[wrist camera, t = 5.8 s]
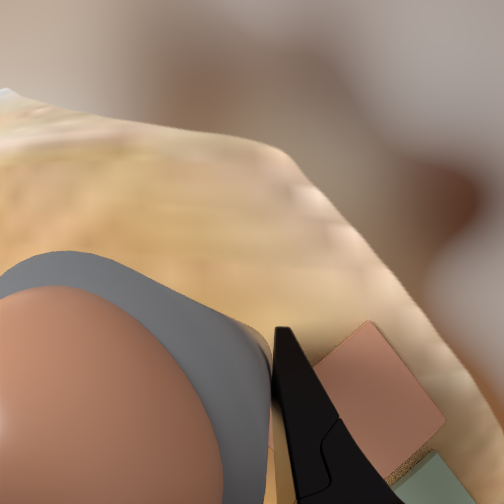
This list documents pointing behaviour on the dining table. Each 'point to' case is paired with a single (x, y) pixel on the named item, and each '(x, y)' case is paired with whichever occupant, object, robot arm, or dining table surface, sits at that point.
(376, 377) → the terracotta tile
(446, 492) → the sage tile
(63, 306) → the tube
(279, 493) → the robot arm
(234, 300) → the dining table surface
